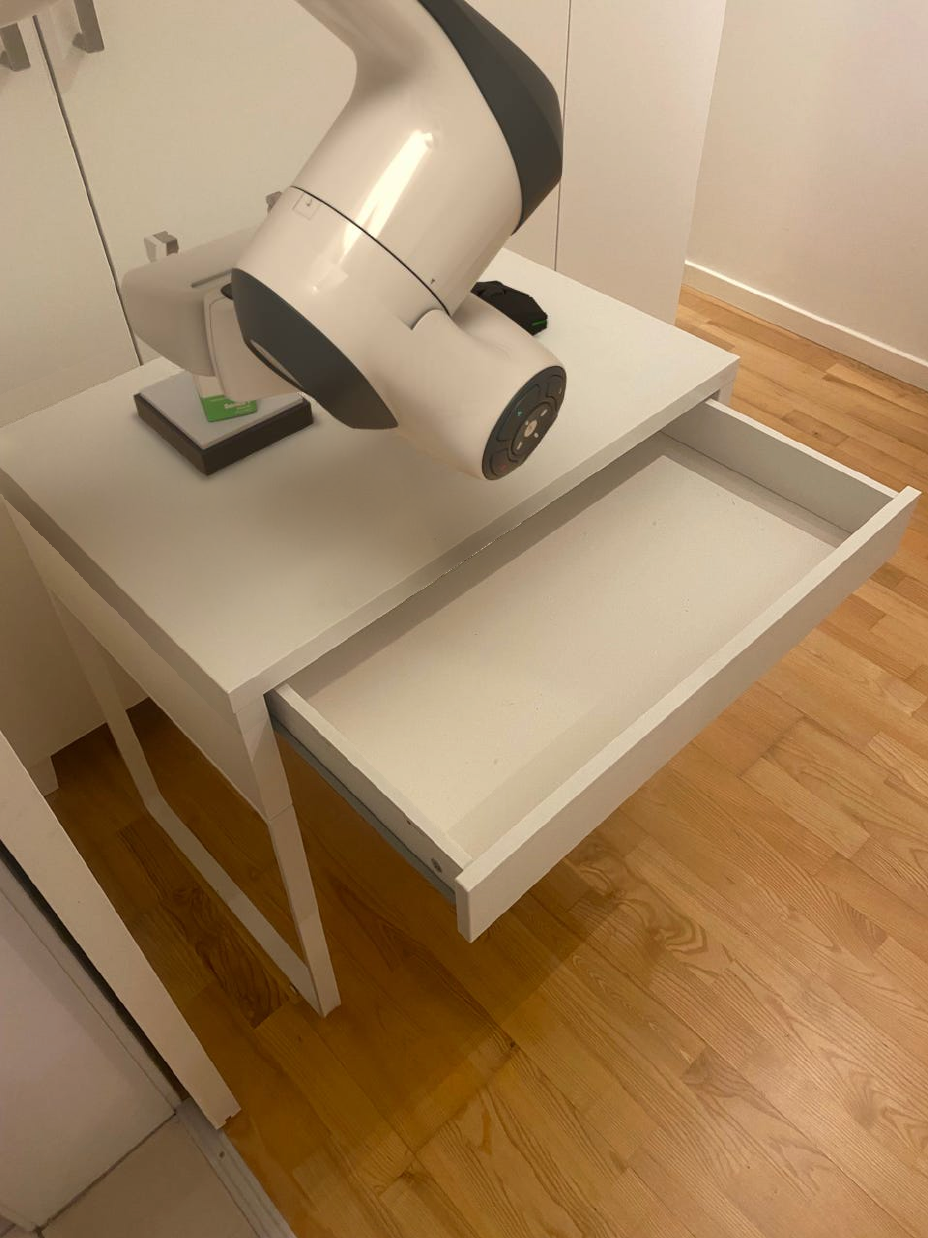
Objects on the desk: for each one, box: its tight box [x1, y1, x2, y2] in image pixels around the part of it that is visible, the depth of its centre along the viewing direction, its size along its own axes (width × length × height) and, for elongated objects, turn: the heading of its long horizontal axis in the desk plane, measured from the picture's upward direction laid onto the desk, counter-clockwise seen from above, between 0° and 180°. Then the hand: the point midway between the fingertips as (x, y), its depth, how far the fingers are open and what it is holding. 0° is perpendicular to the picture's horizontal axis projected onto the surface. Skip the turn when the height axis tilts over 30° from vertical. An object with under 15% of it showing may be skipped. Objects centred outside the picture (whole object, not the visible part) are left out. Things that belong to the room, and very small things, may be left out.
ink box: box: [192, 373, 257, 422], centre depth 86 cm, size 9×5×12 cm, turn 20°
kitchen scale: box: [132, 370, 314, 477], centre depth 91 cm, size 12×12×3 cm
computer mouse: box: [470, 279, 549, 337], centre depth 103 cm, size 11×16×4 cm
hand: (217, 222), depth 64 cm, fingers open, 8 cm apart
